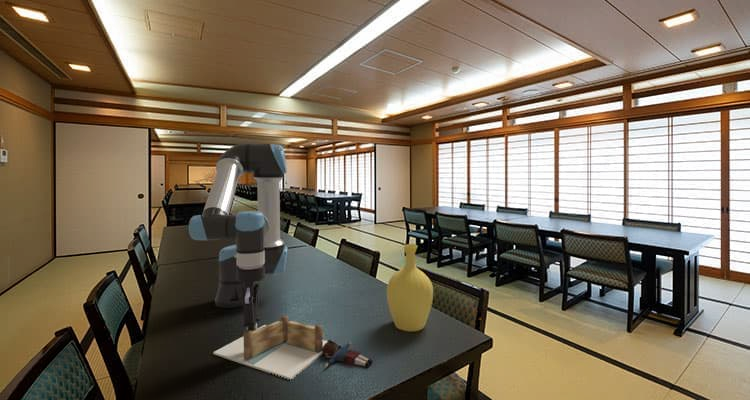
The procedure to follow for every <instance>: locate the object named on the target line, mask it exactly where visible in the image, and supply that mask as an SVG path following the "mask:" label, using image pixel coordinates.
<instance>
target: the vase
mask: <svg viewBox="0 0 750 400" xmlns="http://www.w3.org/2000/svg"><path fill="white" fill-rule="evenodd" d="M418 247H419V246H418V245H417V244H413V243H412V244H411V243H407V244H403V249H404V252H405V263H404V266H403V267H402V268H401V269H399V270H397V271H396V272H395V273H393V275H392V276H391V277H390V279H389V281H388V284H387V287H386V299H387V304H388V309H389V311H390V315H391V318H392V321H393V323H394V326H395V327H396V328H397V329H399V330H401V331H404V332H418V331H421V330H423V329H424V328H425V326H426V323H427V321H428V318H429V315H430V312H431V309H432V305H433V299H434V287H433V284H432V281H431V280H430V278H429V277H428V276H427V275H426V273H424V272H423V271H422V270H420V269H419V268H418V267H417V266H416V261H415V255H416V252H417V249H418Z"/></svg>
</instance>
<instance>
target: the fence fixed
mask: <svg viewBox="0 0 750 400" xmlns="http://www.w3.org/2000/svg"><path fill="white" fill-rule="evenodd" d="M323 327H324V326H323V324H315V325H309V324H306V323H302V322H297V321H294V320H293V321H292V320H290V321H289V320H288V343H289V344H293V345H296V346H300V347H303V348H307V349H311V350H314V351H316V352H321V351H322V348H323V340H324V339H323V338H324V337H323V336H324V333H323V329H324V328H323Z"/></svg>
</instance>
